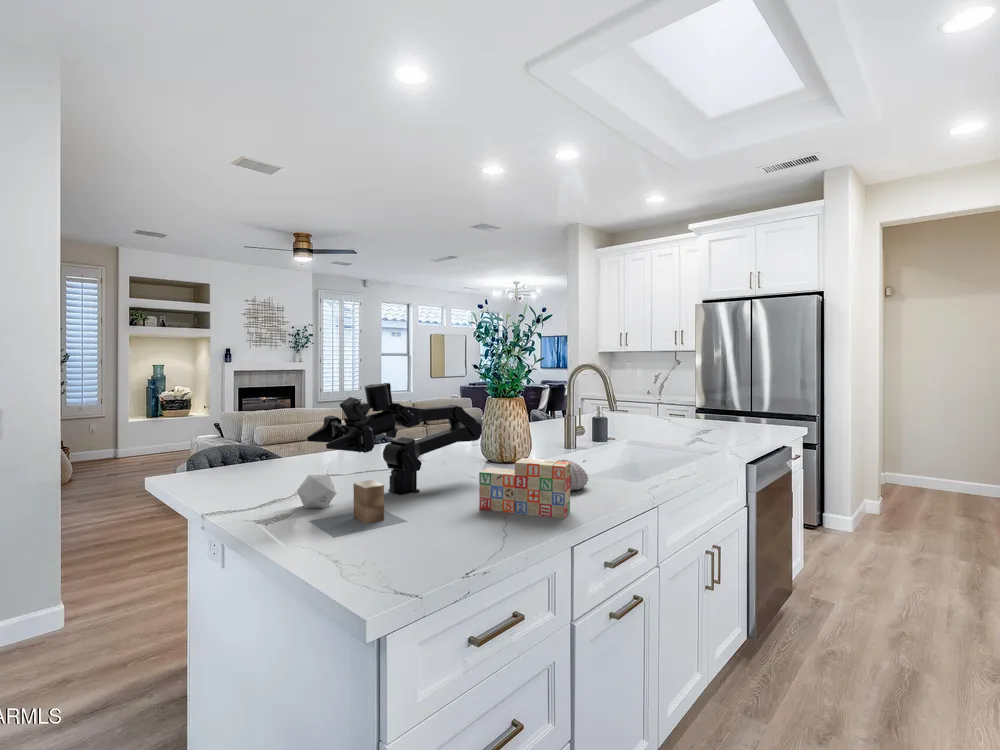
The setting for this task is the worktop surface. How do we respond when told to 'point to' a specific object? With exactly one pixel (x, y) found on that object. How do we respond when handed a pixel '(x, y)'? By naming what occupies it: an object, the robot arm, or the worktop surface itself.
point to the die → (317, 491)
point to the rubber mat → (352, 524)
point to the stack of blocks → (527, 488)
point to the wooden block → (368, 501)
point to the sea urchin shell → (577, 476)
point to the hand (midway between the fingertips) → (316, 442)
